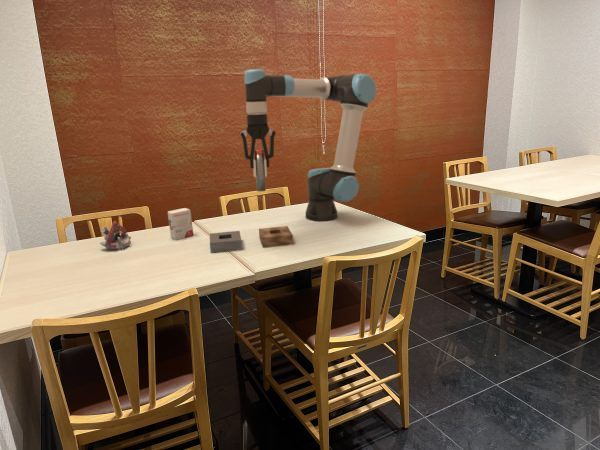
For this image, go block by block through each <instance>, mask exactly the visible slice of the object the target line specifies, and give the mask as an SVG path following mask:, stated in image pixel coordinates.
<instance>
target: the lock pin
mask: <svg viewBox="0 0 600 450" xmlns="http://www.w3.org/2000/svg"><path fill="white" fill-rule="evenodd" d="M254 159H255V161H256V177H255V184H256V191H257V192H265V191H266V177H265V171H264V159H265V155H264V150H263V149H256V150H255V149H254Z"/></svg>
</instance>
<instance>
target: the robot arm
mask: <svg viewBox="0 0 600 450" xmlns="http://www.w3.org/2000/svg"><path fill="white" fill-rule="evenodd" d="M244 91H245V104H246V105H245V107H246V109H245V111H246V113H247V114H246V125H247V126H246V130H243V131H241V132H240V133H239V134H240V137H241V138H242V145H243V146H242V147H243V152H244V158H245V159H246V160H249V165H250V166H249V167H250V169H253V170H252V171H253V172H252V173H253V177H254V178H256V161H255V146H256V142H257V141H256V140H260V142H261V145H262V150H264V171H265V178H267V177H268V172H267V171H268V170H267V169H268V168H270V159H271V158H273V157H274V156H275V154H274V153H275V150H274V149H275V136H276V134H277V133H276V132H277V131H275V130H272V129H270V127H269V125H268V115H267V112H268V107H267V106H268V105H267V97H269V98H270V97H274V98H275V97H277V98H278V97H279V98H281V97H282V98H319V99H320V100H322V101H331V102H337V103H340V104H339V105H340V107H341V108H342V114H341V121H340V125H339V126H340V127H339V133H338V139H337V144H336V150H335V156H334V161H333V165H332V166H331V167H321V168H320V167H319V168H313V169H310V170H309V171H308V172H307V173H308V174H307V186H308V187H307V188H308V189H307V190H308V193H307V194H308V203H307V206H306V209H305V219H307V220H310V221H313V222H314V221H315V222H324V221H325V222H326V221H332V220H334V219H337V218H338V209H337V206H336V205H335V201H337V202H342V203H346V202H350V201H352V200H353V199H354V198H355V197H356V195H358V192H359V187H360V182H359V181H358V178H357V177H356V174H357V172H356V171H355V169H354V164H355V158H356V153H357V148H358V142H359V138H360V137H359V136H360V131H361V125H362V120H363V115H364V112H365V111H366V110H368V106H369V104H370V103H371V102H373V100H374V99H375V97H376V96H377V95H376V94H377V86H376V82H375V81H374V79H373V77H371V76H370V75H369V74H365V73H356V74H342V75H335V76H327V77H325V76H323V77H320V78H319V79H318V78H296V77H295V78H293V77H292V76H291V75H288V74H287V75H285V74H280V75H279V74H278V75H277V74H275V75H267V74H266V71H265V69H257V68H256V69H247V70H245V72H244ZM267 134H268V135H269V151H268V147H267V143H266V142H267V141H266V137H267ZM248 135H249V137H251V140H250V141H251V143H250V150H249V149H248V143H247V142H248V141H247V136H248ZM248 150H249V151H250V152H249V151H248Z"/></svg>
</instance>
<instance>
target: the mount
mask: <svg viewBox="0 0 600 450" xmlns="http://www.w3.org/2000/svg"><path fill="white" fill-rule="evenodd" d="M258 233H259V236H258V238H259V241H260V243H261V247H262V248H272V247H281V246H290V244H292V245H294V239H293V233H292V232H291V230H290V228H289V226H288V225H284V226H283V225H282V226H273V227H263V228H258Z"/></svg>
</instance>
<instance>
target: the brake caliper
mask: <svg viewBox="0 0 600 450" xmlns="http://www.w3.org/2000/svg"><path fill="white" fill-rule="evenodd" d="M119 231H120V232H119ZM100 232H101V233H102V234H104V240H105V241H101V242H99V244H100V245H101V246H103V247H105V248H107V250H109V251H121V250H122V249H123V250H125V249H126V248H129V247H130V246H131V245H132V241H131V239H132V237H131V236H130V235H129V233H127V229H125V227H124V226H122V225H121V224H119V223H118V222H117V221H116V220H114V221H113V222H112V224H111V225H110V229H108V228H107V226H102V229H101V231H100ZM130 244H131V245H130Z"/></svg>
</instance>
